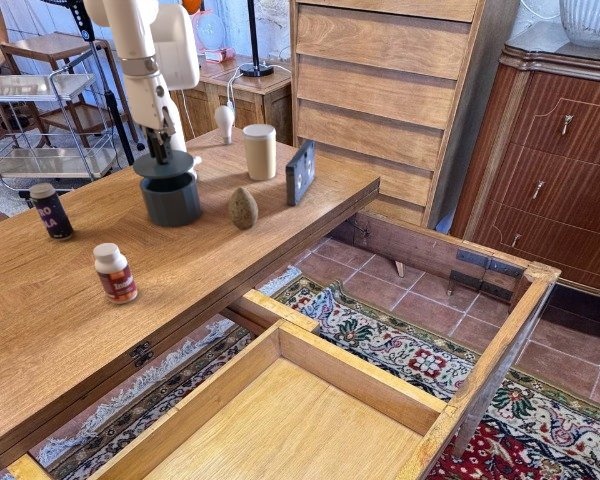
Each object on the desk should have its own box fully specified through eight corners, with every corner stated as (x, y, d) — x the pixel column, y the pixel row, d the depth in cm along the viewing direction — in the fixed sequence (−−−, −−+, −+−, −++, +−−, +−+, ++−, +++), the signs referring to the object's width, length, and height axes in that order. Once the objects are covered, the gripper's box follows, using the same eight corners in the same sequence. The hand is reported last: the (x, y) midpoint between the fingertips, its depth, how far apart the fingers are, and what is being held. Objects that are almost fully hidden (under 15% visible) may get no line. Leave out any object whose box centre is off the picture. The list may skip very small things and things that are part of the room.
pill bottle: (124, 308, 91) (105, 261, 83) (102, 299, 93) (81, 253, 85) (144, 292, 95) (128, 245, 86) (122, 284, 96) (104, 237, 88)
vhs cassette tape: (306, 176, 129) (306, 138, 121) (316, 177, 128) (316, 139, 121) (285, 205, 118) (283, 166, 110) (295, 206, 117) (294, 167, 110)
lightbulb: (240, 145, 144) (235, 107, 136) (222, 149, 143) (217, 110, 134) (232, 139, 148) (227, 101, 139) (215, 143, 146) (209, 105, 138)
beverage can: (51, 232, 111) (27, 184, 102) (74, 228, 112) (53, 180, 103) (51, 244, 108) (27, 195, 98) (75, 239, 109) (53, 190, 100)
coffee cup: (280, 168, 133) (278, 123, 123) (275, 182, 127) (272, 136, 118) (250, 167, 134) (245, 122, 124) (243, 181, 128) (238, 135, 119)
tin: (176, 196, 122) (169, 164, 116) (212, 210, 117) (206, 177, 110) (138, 217, 115) (128, 184, 109) (174, 232, 110) (165, 199, 103)
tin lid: (166, 149, 114) (159, 118, 108) (207, 164, 108) (201, 131, 103) (121, 170, 107) (111, 138, 101) (162, 187, 101) (154, 154, 96)
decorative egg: (237, 238, 108) (231, 197, 100) (226, 225, 112) (220, 185, 104) (263, 230, 110) (260, 190, 102) (252, 218, 114) (248, 178, 106)
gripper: (180, 67, 90) (197, 161, 105) (127, 54, 97) (151, 144, 111) (152, 77, 87) (174, 173, 101) (99, 63, 93) (127, 155, 107)
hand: (162, 157), depth 106 cm, fingers closed on tin lid, 3 cm apart
